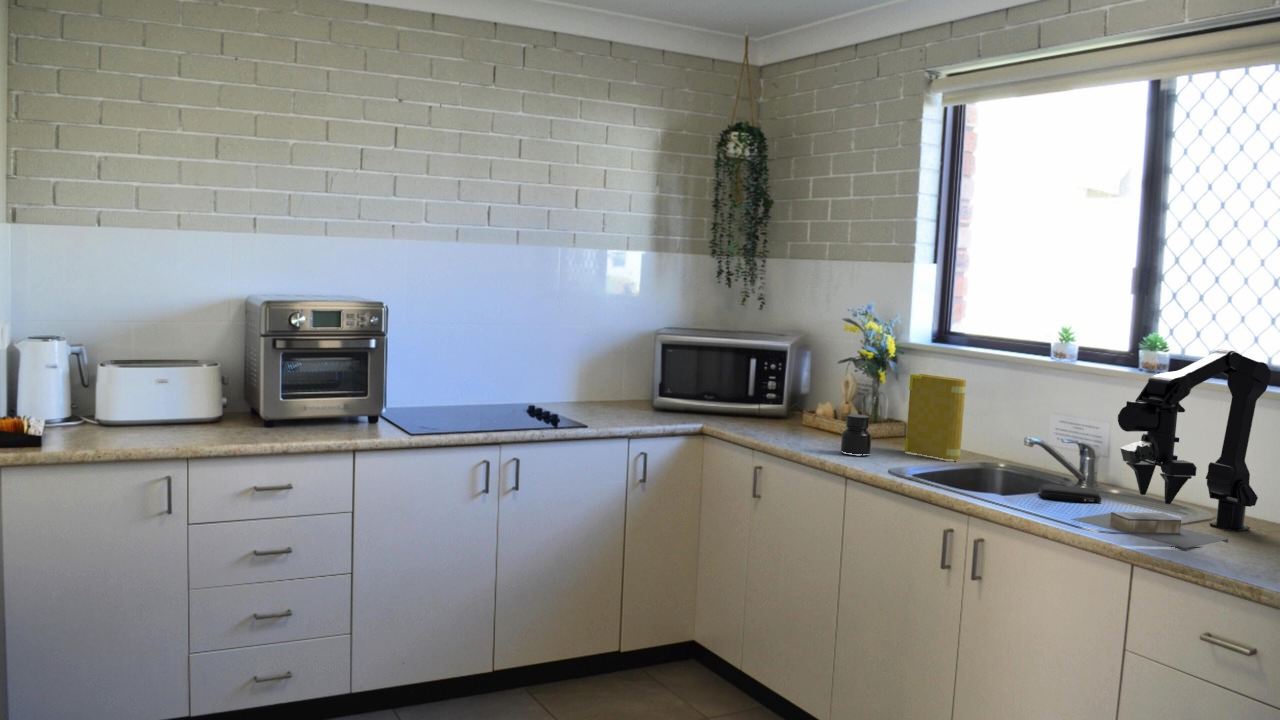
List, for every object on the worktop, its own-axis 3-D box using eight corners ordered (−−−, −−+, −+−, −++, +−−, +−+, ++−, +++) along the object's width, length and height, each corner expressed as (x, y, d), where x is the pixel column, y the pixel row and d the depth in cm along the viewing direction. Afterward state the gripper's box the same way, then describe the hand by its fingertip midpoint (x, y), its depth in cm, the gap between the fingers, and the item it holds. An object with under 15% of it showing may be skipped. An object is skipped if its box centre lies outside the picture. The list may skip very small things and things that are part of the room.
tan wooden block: (1163, 513, 242) (1111, 511, 240) (1181, 519, 236) (1127, 518, 234) (1161, 525, 242) (1109, 524, 241) (1179, 532, 236) (1126, 531, 234)
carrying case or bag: (1040, 501, 268) (1102, 508, 264) (1041, 489, 268) (1103, 496, 263) (1037, 493, 278) (1097, 499, 274) (1038, 481, 278) (1098, 488, 274)
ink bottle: (876, 455, 322) (879, 417, 321) (861, 458, 316) (864, 419, 315) (849, 450, 329) (852, 412, 328) (833, 453, 322) (836, 414, 321)
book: (904, 453, 329) (910, 374, 327) (916, 451, 333) (922, 373, 331) (951, 462, 316) (958, 380, 314) (963, 460, 321) (970, 379, 319)
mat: (1114, 514, 255) (1114, 512, 255) (1227, 541, 233) (1228, 539, 232) (1070, 521, 244) (1070, 519, 244) (1184, 550, 222) (1185, 547, 222)
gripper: (1104, 423, 245) (1098, 489, 246) (1153, 437, 226) (1147, 508, 228) (1148, 425, 246) (1142, 490, 248) (1201, 438, 228) (1194, 509, 229)
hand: (1154, 499), depth 238 cm, fingers open, 9 cm apart
